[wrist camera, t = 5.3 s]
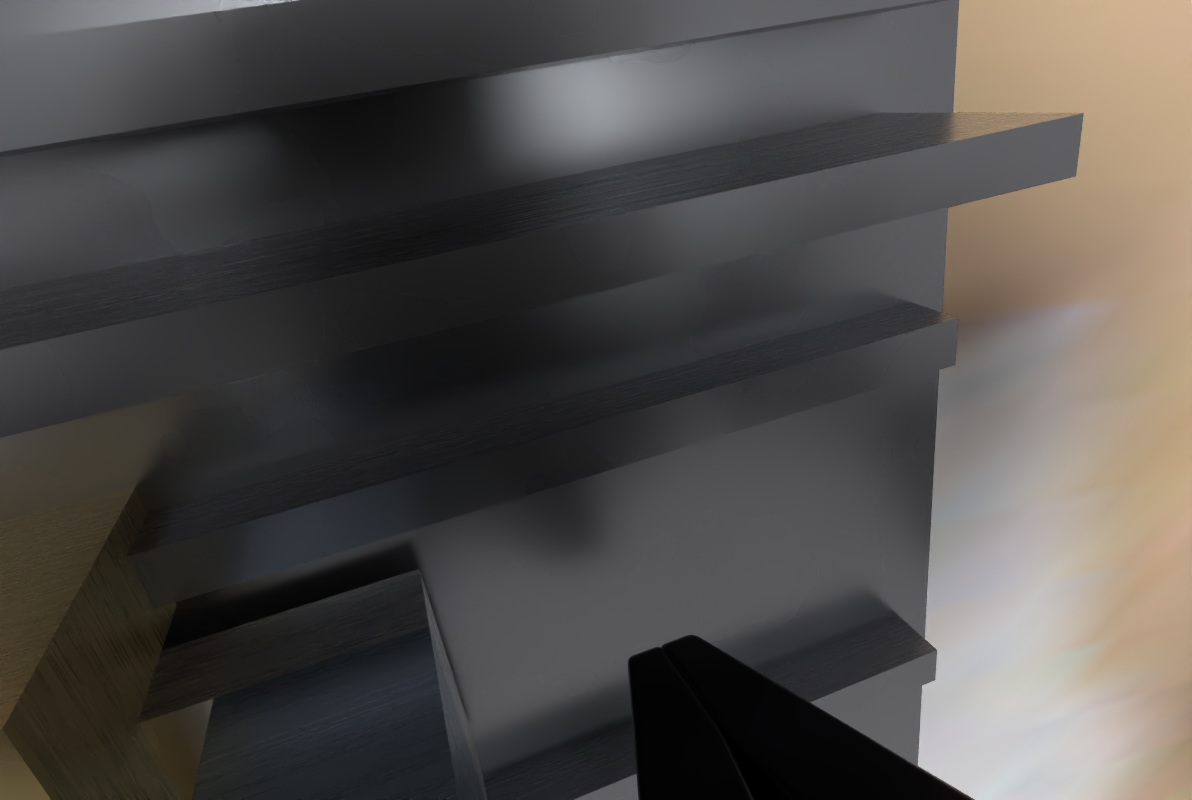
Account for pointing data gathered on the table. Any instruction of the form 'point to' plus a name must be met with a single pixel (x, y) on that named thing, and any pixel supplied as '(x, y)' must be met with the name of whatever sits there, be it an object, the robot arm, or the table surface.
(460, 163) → the heatsink
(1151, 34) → the table surface
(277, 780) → the grey block
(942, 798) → the robot arm
